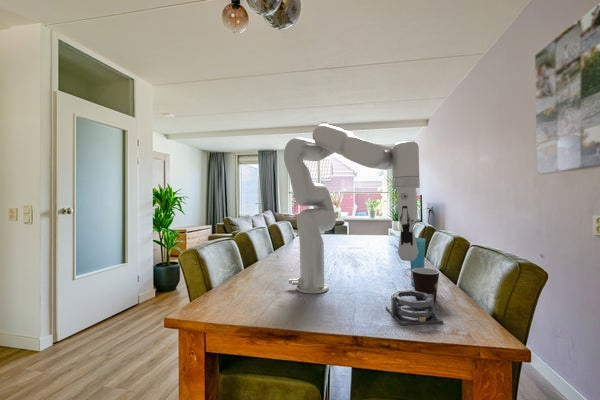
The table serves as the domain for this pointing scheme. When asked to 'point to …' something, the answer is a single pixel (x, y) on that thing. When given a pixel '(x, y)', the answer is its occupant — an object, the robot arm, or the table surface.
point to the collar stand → (413, 308)
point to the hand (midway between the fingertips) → (407, 243)
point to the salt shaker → (408, 247)
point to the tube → (418, 256)
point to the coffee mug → (425, 281)
